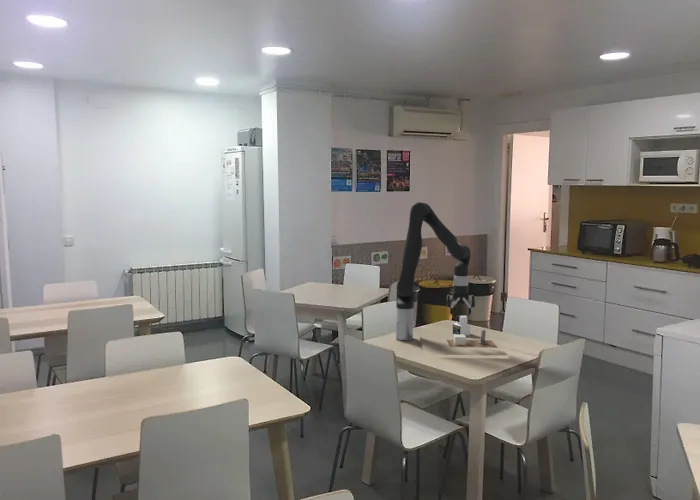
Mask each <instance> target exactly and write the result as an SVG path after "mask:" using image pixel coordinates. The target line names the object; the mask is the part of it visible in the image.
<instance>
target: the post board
mask: <svg viewBox="0 0 700 500" xmlns="http://www.w3.org/2000/svg"><path fill="white" fill-rule="evenodd" d="M446 342H447V344H448V346H449V347H450V348H490V349H491V348H498V346H497V345H496V344H495V343H494V341H493V340H491V339H490V340H489V339H486V329H481V330H480V339H466V345H455V344H454V339H446Z"/></svg>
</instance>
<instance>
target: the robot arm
mask: <svg viewBox="0 0 700 500" xmlns="http://www.w3.org/2000/svg"><path fill="white" fill-rule="evenodd" d="M409 211H410V212H409V219H408V220H409V223H408V229H407V233H406V239H405V242H404V247H403V253H402V263H401V264H402V265H401V272H400V275H399V279H398V281H397V283H396V305H395V306H396V312H395V314H396V315H395V316H396V320H395V339H396V340H397V341H398V340H399V341H412V340H413V339H414V292H415V291H414V287H415V286H414V285H415V284H414V283H415V275H416V270H417V268H418V264H419V262H420V258H421V254H422V249H423V238H422V226H423V222H424V223H426V224H427V225H428V226H429V227H431V229H432V230H433V232H434V235H436V237H437V238H438V240H439V241H440V242H441V243H442V244H443V245H444V246H445V247H446V249H447V250H448V252H449V253H450V255H451V256H452V257H453V258H454V259H455V260H457V262H456V264H454V268H453V283H452V284H453V286H452V287H453V288H452V289H453V293H452V295H450V294H447V295H446V304H445V305H446V307H447V308H449V313H450V315H451V316H453V315H454V307H455V306H456V305H457V304H458V305H459V304H460V305H461V304H462V305H464V304H466V306H467V316H470V315H471V314H472V308H475V307H476V302H475V296H474V295H473V294H471V295H470V294H469V266H470V265H469V264H470V262H471V261H470V260H471V250H470V247H468V245H460V244H459V243H458V238H457V237H456V236H455V235H454V234H453V232H451V230H449V229H448V227H446V225H445V224H444V223H443V222H442V221H441V219H439V217H438V216H437V215H436V213H435V212H434V210H433V209H432V207H431V206H430V205H429V204H428V203H426V202H420V201H418V202H415V203H413V204H412V206H411V207H410V210H409ZM452 299H453V301H452V302H451V303H450V300H452ZM468 300H471V301H470V302H471V304H470V303H469V301H468Z"/></svg>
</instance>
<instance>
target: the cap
mask: <svg viewBox="0 0 700 500" xmlns="http://www.w3.org/2000/svg"><path fill="white" fill-rule="evenodd" d="M466 336H467V335H459V334H453V340H454V344H455V345H466V340H467V337H466Z"/></svg>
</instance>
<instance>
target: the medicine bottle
mask: <svg viewBox="0 0 700 500" xmlns="http://www.w3.org/2000/svg"><path fill="white" fill-rule="evenodd" d="M455 319H456V321H455V322H454V323H452V334H453V335H454V334H459V335H465V336H471V328H472V327H471V324H469V323H468V315H467V314H466V315H464V314H457V315H456V317H455Z"/></svg>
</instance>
